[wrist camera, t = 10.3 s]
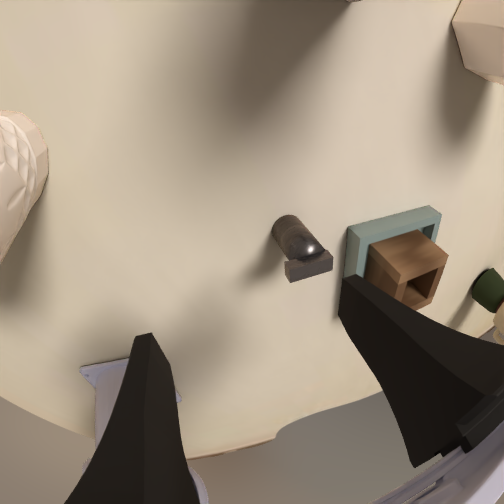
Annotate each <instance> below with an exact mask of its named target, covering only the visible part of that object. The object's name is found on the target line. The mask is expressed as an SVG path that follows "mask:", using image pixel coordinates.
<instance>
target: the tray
mask: <svg viewBox="0 0 504 504" xmlns="http://www.w3.org/2000/svg"><path fill="white" fill-rule="evenodd" d="M441 216H442V214H441V213H440V212H438V211H437V210H435V209H434V208H432V207H431V206H430V205H429V206H425V207H421V208H417V209H413V210H410V211H406V212H402V213H398V214H394V215H390V216H387V217H383V218H379V219H375V220H371V221H368V222H364V223H360V224H356V225H352V226H349V227H348V235H347V247H346V257H345V267H344V276H343V278H345V277H348V276H351V275H354V274H357V275H359V276H361V277H362V278H364V275H365V270H366V264H367V258H368V251H369V245H370V244H371V243H374V242H378V241H381V240H384V239H387V238H391V237H394V236H397V235H400V234H403V233H407V232H410V231H413V230H416V229H418V230H419V231H421V232H422V233H423V234H424V235H425V236H427V237H428V238H429V239H430V240H431V241H433V242H434V243H435V241H436V237H437V233H438V229H439V225H440V221H441Z"/></svg>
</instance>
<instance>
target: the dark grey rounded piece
mask: <svg viewBox="0 0 504 504" xmlns="http://www.w3.org/2000/svg"><path fill="white" fill-rule="evenodd" d="M272 234H273V237H274V238H275V240H276V241H277V243H278V244H279V246H280V247H281V249H282V250H283V252H284V254H285V255H286V257H287V258H288V260H289V261H285V262H284V264H285V275H286V277H287V279H288V280H289V282H290V283H292V282H295V281H299V280H302V279H305V278H308V277H312V276H315V275H318V274H322V273H325V272H328V271H331V270H332V269H333V256H332V255H331V254H330V253H329V251H328V250H325V249H324V248H323V247H322V245H321V244H320V243H319V242H318V241H317V240H316V238H315V237H314V236H313V235H312V234H311V233H310V231H309V230H308V229H307V228H306V227H305V226H304V224H303V223H302V222H301V221H300V220H299V219H298V218H297V217H296V216H294V215H285V216H282V217H281V218H279V219H278V220H277V221H276V222H275V224H274V225H273V228H272Z"/></svg>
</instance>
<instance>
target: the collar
mask: <svg viewBox="0 0 504 504" xmlns="http://www.w3.org/2000/svg"><path fill="white" fill-rule="evenodd" d="M447 258H448V254H447V253H445V252H444V251H443V250H442V249H441V248H440V247H439V246H437V245H436V244H435V243H434V242H433V241H431V240H430V239H429V238H428V237H427V236H425V235H424V234H423V233H422V232H421V231H419V230H418V229H416V230H413V231H410V232H407V233H403V234H400V235H397V236H394V237H391V238H387V239H384V240H381V241H378V242H374V243H371V244H370V245H369V251H368V258H367V264H366V270H365V275H364V279H365V280H367V281H368V282H370V283H372V284H373V285H375V286H376V287H378V288H379V289H381V290H382V291H384V292H386V293H387V294H389V295H390V296H392V297H393V298H395V299H397V300H398V301H400V302H401V303H403V304H405V305H406V306H408V307H410V308H412V309H413V310H415V311H416V310H418V309H420V308H422V307H424V306H426V305H428V304H430V303H431V302H432V299H433V297H434V294H435V292H436V289H437V286H438V284H439V281H440V278H441V276H442V273H443V270H444V267H445V264H446V261H447Z"/></svg>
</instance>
